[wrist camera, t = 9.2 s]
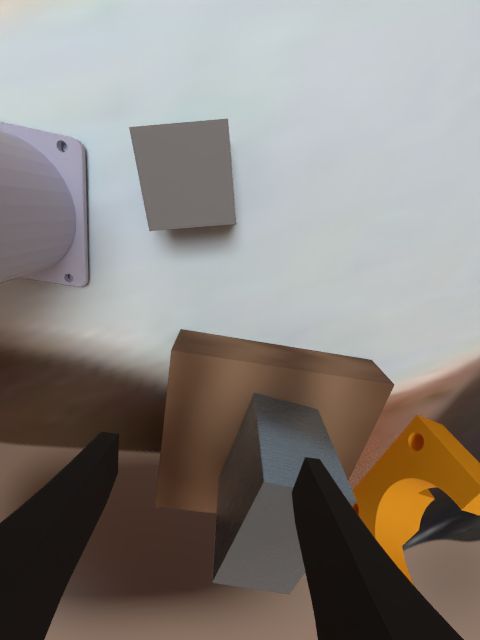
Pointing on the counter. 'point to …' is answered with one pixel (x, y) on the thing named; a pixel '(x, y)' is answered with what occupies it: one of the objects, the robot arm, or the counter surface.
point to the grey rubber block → (185, 174)
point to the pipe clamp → (415, 484)
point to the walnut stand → (235, 396)
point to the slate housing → (268, 494)
